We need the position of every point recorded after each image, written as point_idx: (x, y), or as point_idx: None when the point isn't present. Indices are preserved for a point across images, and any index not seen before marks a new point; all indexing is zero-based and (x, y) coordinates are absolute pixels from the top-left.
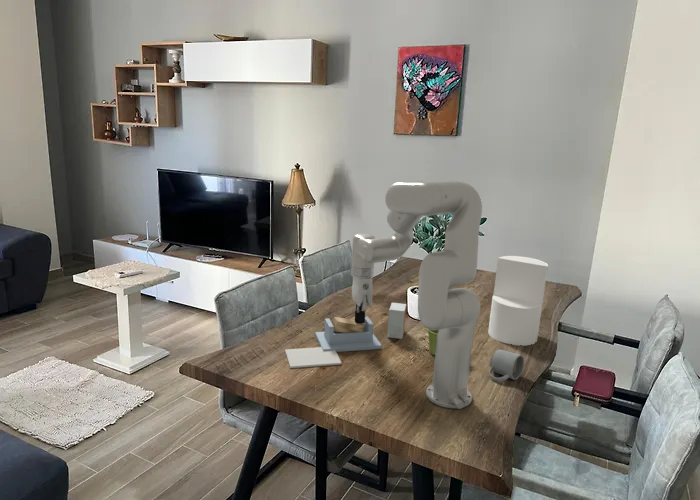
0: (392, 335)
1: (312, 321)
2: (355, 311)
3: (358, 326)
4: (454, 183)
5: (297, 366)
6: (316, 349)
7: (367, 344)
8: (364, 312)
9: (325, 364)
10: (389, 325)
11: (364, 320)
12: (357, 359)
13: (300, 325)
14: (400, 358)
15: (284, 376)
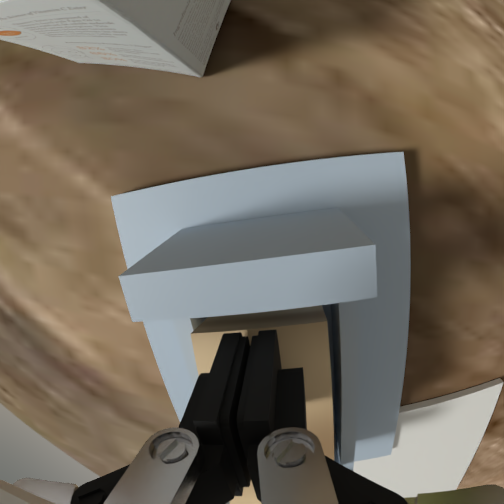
0: (210, 40)
1: (70, 429)
2: (241, 493)
3: (329, 376)
4: None
5: (459, 480)
6: (368, 466)
7: (383, 253)
8: (310, 439)
9: (485, 426)
10: (176, 39)
11: (276, 345)
12: (488, 315)
13: (119, 468)
14: (501, 83)
15: (482, 484)
